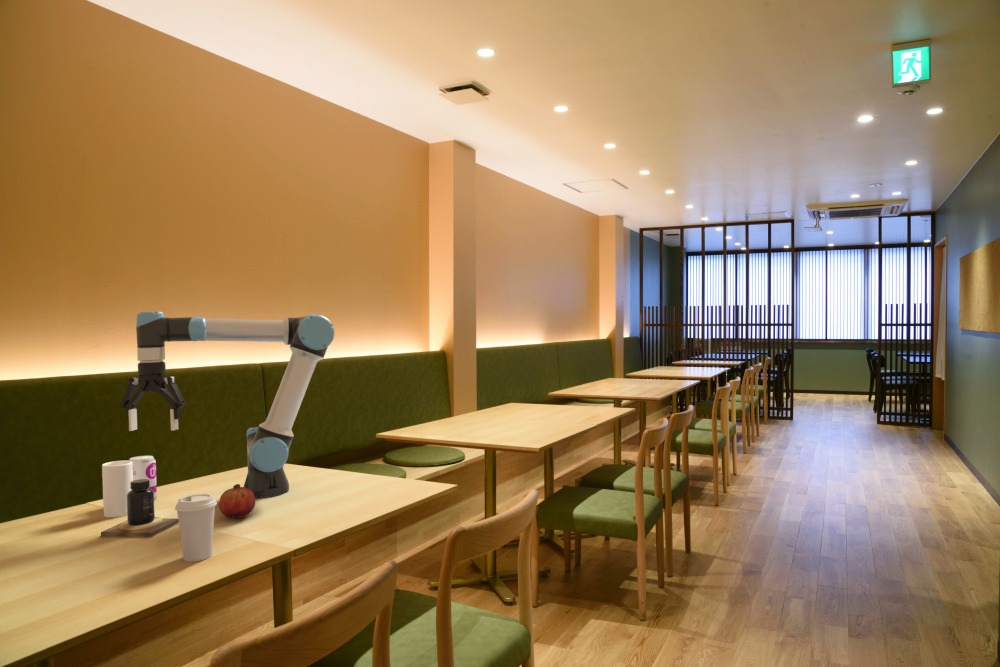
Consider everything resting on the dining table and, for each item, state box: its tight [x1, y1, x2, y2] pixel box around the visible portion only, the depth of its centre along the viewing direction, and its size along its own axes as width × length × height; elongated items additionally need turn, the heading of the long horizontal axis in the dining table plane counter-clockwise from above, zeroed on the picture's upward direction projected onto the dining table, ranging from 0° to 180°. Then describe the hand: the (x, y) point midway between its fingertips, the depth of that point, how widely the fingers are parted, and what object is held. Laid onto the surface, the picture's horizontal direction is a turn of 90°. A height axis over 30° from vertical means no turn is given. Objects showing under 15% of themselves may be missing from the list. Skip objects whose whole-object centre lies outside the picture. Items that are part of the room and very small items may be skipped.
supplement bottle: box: [126, 479, 156, 526], centre depth 186 cm, size 7×7×12 cm
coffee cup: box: [174, 493, 218, 563], centre depth 162 cm, size 10×10×15 cm
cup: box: [101, 459, 133, 518], centre depth 202 cm, size 8×8×16 cm
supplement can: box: [128, 455, 158, 502], centre depth 215 cm, size 8×8×15 cm
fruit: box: [218, 483, 256, 519], centre depth 195 cm, size 11×10×10 cm
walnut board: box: [100, 516, 179, 538], centre depth 186 cm, size 15×13×2 cm
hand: (153, 430), depth 199 cm, fingers open, 13 cm apart
